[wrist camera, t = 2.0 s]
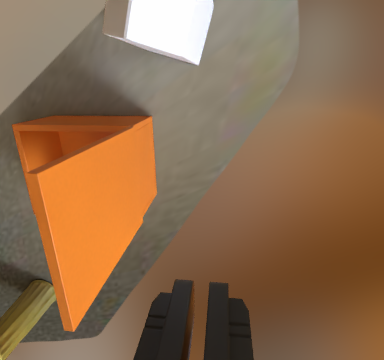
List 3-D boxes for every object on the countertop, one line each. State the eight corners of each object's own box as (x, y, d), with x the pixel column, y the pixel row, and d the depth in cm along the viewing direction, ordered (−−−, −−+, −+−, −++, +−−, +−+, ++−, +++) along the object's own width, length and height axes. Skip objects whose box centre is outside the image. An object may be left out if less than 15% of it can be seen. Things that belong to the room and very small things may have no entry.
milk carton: (214, 6, 33) (201, -76, 16) (198, 65, 36) (173, 52, 18) (160, -10, 33) (88, -109, 16) (149, 50, 36) (76, 23, 18)
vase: (29, 297, 56) (-31, 365, 43) (29, 275, 54) (-34, 340, 40) (57, 305, 56) (5, 376, 43) (58, 283, 54) (3, 351, 40)
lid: (64, 330, 20) (73, 332, 20) (24, 173, 15) (37, 173, 15) (137, 221, 35) (143, 221, 35) (128, 126, 31) (134, 126, 31)
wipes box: (68, 190, 45) (33, 214, 37) (53, 115, 41) (11, 124, 33) (156, 193, 44) (141, 220, 36) (152, 115, 39) (132, 125, 31)
